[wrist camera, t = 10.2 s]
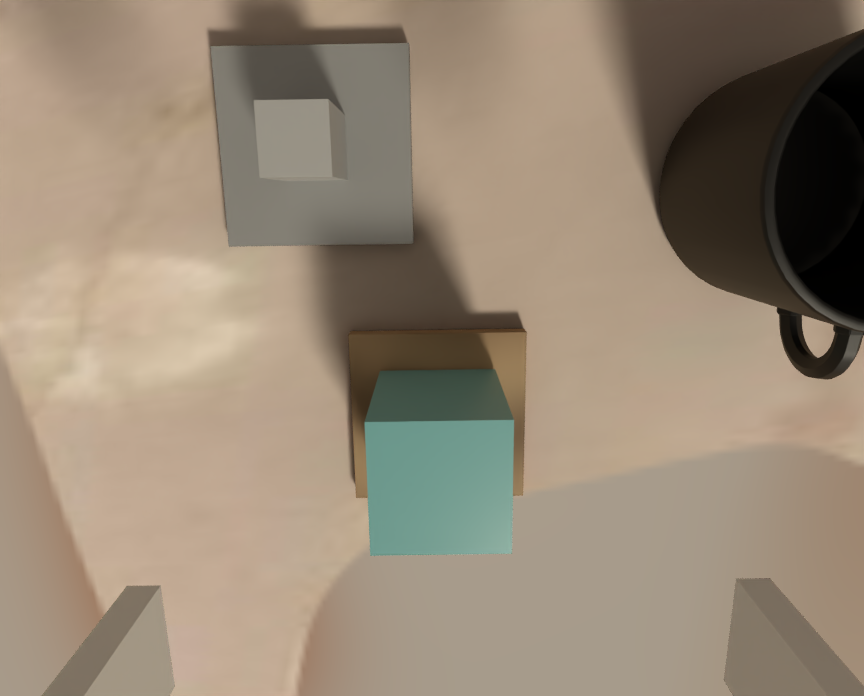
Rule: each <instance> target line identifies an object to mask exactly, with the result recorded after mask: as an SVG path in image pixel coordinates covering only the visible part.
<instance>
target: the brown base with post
mask: <svg viewBox="0 0 864 696" xmlns="http://www.w3.org/2000/svg"><path fill="white" fill-rule="evenodd" d="M526 334H527V332H526V331H525V329H460V330H393V331H350V333H349V335H348V339H349V359H350V380H351V401H352V422H353V442H354V463H355V484H356V498H368V489H367V467H366V444H365V419H366V416H367V412H368V409H369V406H370V402H371V399H372V396H373V392H374V389H375V386H376V382H377V379H378V376H379V372H380V371H396V370H461V369H495V370H496V373H497V376H498V378H499V381H500V384H501V386H502V389H503V392H504V394H505V397H506V400H507V402H508V405H509V408H510V410H511V413H512V416H513V418H514V455H513V496H519V495H523V474H524V427H525V380H526Z"/></svg>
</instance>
